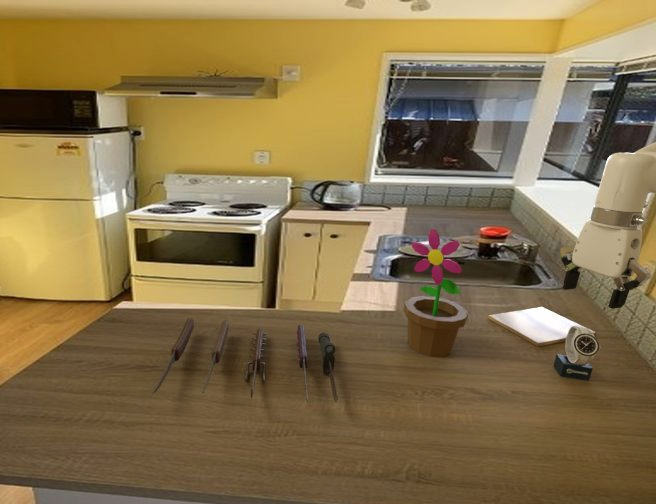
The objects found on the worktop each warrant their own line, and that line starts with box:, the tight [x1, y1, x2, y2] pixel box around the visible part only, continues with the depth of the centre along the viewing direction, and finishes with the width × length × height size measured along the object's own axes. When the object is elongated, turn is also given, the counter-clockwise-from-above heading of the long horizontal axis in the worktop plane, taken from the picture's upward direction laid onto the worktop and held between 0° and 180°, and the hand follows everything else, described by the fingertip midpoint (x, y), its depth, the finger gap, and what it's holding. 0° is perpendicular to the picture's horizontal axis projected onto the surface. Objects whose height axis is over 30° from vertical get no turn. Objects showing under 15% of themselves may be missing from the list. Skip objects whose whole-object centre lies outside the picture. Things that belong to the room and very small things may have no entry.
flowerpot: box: [403, 228, 469, 358], centre depth 100 cm, size 14×14×30 cm
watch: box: [552, 326, 602, 381], centre depth 93 cm, size 6×8×11 cm
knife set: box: [151, 317, 339, 404], centre depth 90 cm, size 35×33×8 cm
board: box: [487, 306, 597, 347], centre depth 115 cm, size 20×16×1 cm
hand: (590, 297), depth 89 cm, fingers open, 9 cm apart
